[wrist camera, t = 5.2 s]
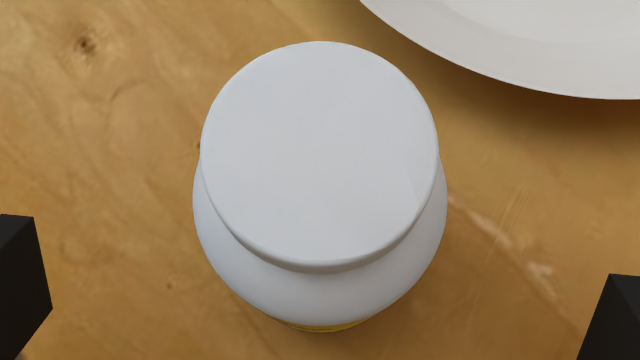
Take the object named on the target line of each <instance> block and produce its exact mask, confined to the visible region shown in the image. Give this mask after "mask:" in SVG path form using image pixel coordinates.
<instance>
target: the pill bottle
mask: <svg viewBox="0 0 640 360" xmlns="http://www.w3.org/2000/svg"><path fill="white" fill-rule="evenodd" d="M447 205H448V195H447V184H446V179H445V173H444V170H443V166H442V163H441V160H440V157H439V145H438V137H437V132H436V128H435V124H434V120H433V117H432V115H431V112H430V110H429V107H428V105H427V104H426V102H425V100H424V98H423V97H422V95H421V94H420V92H419V91H418V90H417V88H416V87H415V85H414V84H413V83H412V82H411V81H410V80H409V79H408V78H407V77H406V76H405V75H404V74H403V73H402V72H401V71H400V70H399V69H398V68H397V67H396V66H394V65H392V64H391V63H389V62H388V61H386V60H385V59H383V58H382V57H380V56H378V55H376V54H374V53H372V52H370V51H367V50H364V49H362V48H359V47H356V46H353V45H349V44H344V43H338V42H330V41H313V42H305V43H298V44H293V45H289V46H285V47H283V48H279V49H275V50H273V51H270V52H268V53H266V54H263V55H261V56H259V57H258V58H256V59H254V60H253V61H252V62H250V63H249V64H247V65H246V66H244V67H243V68H242V69H241V70H240V71H238V72H237V73H236V74H235V75H234V76H233V77H232V78H231V79H230V80H229V81H228V82H227V83H226V84H225V86H224V87H223V88H222V89H221V91H220V92H219V94H218V95H217V97H216V98H215V100H214V102H213V103H212V106H211V108H210V110H209V113H208V115H207V117H206V120H205V123H204V127H203V131H202V134H201V143H200V159H199V162H198V165H197V169H196V172H195V178H194V184H193V215H194V221H195V227H196V231H197V234H198V238H199V241H200V243H201V246H202V248H203V250H204V253H205V255H206V257H207V259H208V261H209V262H210V264H211V266H212V267H213V269H214V270H215V271H216V273H217V274H218V275H219V277H220V278H221V279H222V280H223V281H224V283H225V284H226V285H227V286H228V287H229V288H230V289H231V290H232V291H233V292H235V293H236V294H237V295H238V296H239V297H240V298H242V299H243V300H244V301H246V302H247V303H248V304H250V305H252V306H253V307H255V308H256V309H258V310H260V311H262V312H263V313H265V314H267V315H268V316H270V317H272V318H274V319H275V320H277V321H278V322H280V323H283V324H285V325H287V326H289V327H292V328H295V329H298V330H301V331H307V332H314V333H330V332H337V331H341V330H345V329H348V328H351V327H353V326H356V325H358V324H360V323H362V322H364V321H366V320H367V319H369V318H371V317H372V316H374V315H376V314H377V313H379V312H381V311H382V310H384V309H385V308H387V307H388V306H390V305H391V304H393V303H394V302H395V301H397V300H398V299H399V298H401V297H402V296H403V295H404V294H405V293H406V292H408V291H409V290H410V289H411V287H412V286H413V285H414V284H415V283H416V282H417V281H418V280H419V279H420V277H421V276H422V275H423V273H424V272H425V271H426V269H427V268H428V266H429V265H430V263H431V261H432V259H433V258H434V256H435V253H436V251H437V249H438V247H439V244H440V241H441V239H442V235H443V232H444V228H445V223H446V218H447Z"/></svg>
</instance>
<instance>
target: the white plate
mask: <svg viewBox="0 0 640 360" xmlns="http://www.w3.org/2000/svg"><path fill="white" fill-rule="evenodd" d="M359 1H360V2H361V3H362V4H364V5H365V6H366V7H367V8H368V9H369V10H371V11H372V12H373V13H374V14H375V15H377V16H378V17H379V18H380V19H382V20H383V21H384V22H386V23H387V24H388V25H390V26H391V27H393V28H394V29H395V30H397V31H398V32H400V33H401V34H403V35H404V36H406V37H407V38H409V39H411V40H412V41H414V42H416V43H417V44H419V45H421V46H422V47H424V48H426V49H428V50H430V51H431V52H433V53H435V54H437V55H439V56H441V57H443V58H445V59H447V60H449V61H451V62H454V63H456V64H458V65H460V66H463V67H465V68H467V69H470V70H472V71H475V72H478V73H480V74H483V75H486V76H488V77H491V78H494V79H498V80H501V81H504V82H507V83H511V84H514V85H518V86H522V87H526V88H530V89H534V90H539V91H544V92H549V93H555V94H561V95H568V96H575V97H585V98H597V99H640V0H359Z"/></svg>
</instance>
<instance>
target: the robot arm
mask: <svg viewBox="0 0 640 360" xmlns="http://www.w3.org/2000/svg"><path fill="white" fill-rule="evenodd" d="M52 309H53V307H52V302H51V297H50V292H49V288H48V283H47V278H46V274H45V269H44V264H43V260H42V255H41V250H40V246H39V241H38V236H37V232H36V227H35V222H34V218H33V217H28V216H18V215H8V214H1V215H0V360H15V358H16V357H17V356H18V354H19V353H20V352H21V350H22V349H23V348H24V346H25V345H26V344H27V342H28V341H29V340H30V338H31V337H32V336H33V334H34V333H35V332H36V331H37V329H38V328H39V327H40V325H41V324H42V323H43V321H44V320H45V319H46V317H47V316H48V315H49V313H50V312H51V311H52ZM576 360H640V276H630V275H620V274H610V273H609V275H608V278H607V281H606V283H605V286H604V288H603V291H602V294H601V296H600V299H599V301H598V304H597V307H596V309H595V312H594V315H593V317H592V320H591V322H590V325H589V328H588V330H587V333H586V336H585V338H584V341H583V343H582V346H581V349H580V351H579V354H578V357H577V359H576Z"/></svg>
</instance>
